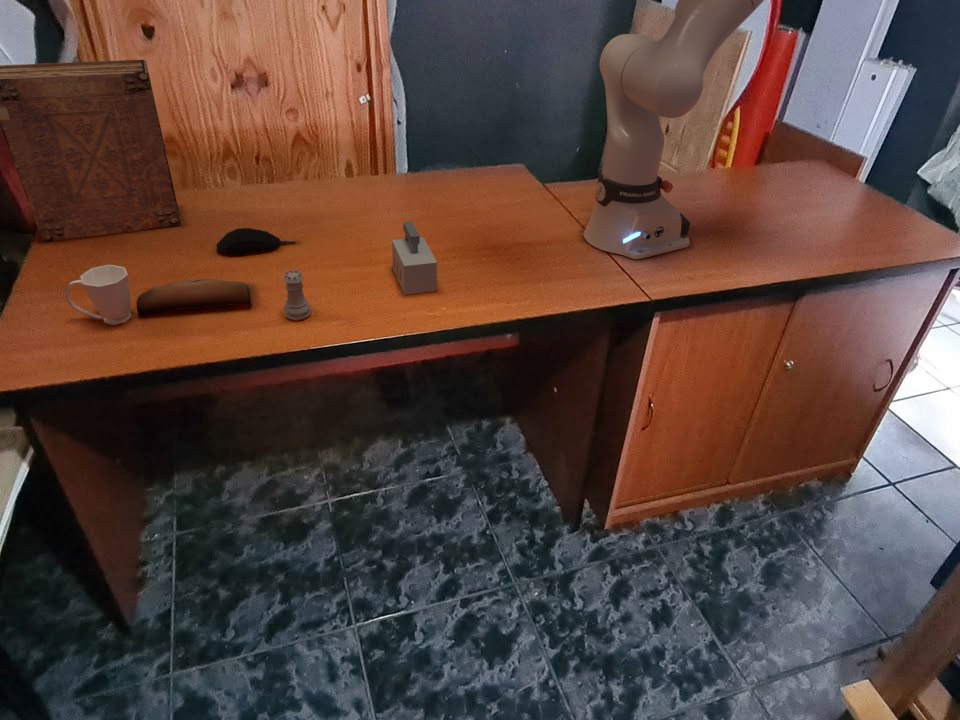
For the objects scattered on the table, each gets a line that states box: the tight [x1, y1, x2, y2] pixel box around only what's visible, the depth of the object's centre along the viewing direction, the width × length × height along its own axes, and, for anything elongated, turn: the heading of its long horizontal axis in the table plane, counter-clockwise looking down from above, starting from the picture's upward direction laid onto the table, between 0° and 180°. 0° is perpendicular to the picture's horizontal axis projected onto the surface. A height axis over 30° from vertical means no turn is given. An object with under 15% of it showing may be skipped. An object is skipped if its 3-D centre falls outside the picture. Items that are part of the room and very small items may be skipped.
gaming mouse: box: [216, 227, 297, 257], centre depth 134 cm, size 6×15×4 cm, turn 109°
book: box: [0, 59, 182, 243], centre depth 131 cm, size 25×9×30 cm, turn 113°
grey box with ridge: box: [391, 221, 438, 296], centre depth 126 cm, size 10×6×9 cm, turn 18°
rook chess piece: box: [282, 269, 312, 321], centre depth 115 cm, size 4×4×8 cm
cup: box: [65, 264, 132, 326], centre depth 111 cm, size 7×10×8 cm
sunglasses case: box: [136, 278, 253, 316], centre depth 117 cm, size 18×7×7 cm
